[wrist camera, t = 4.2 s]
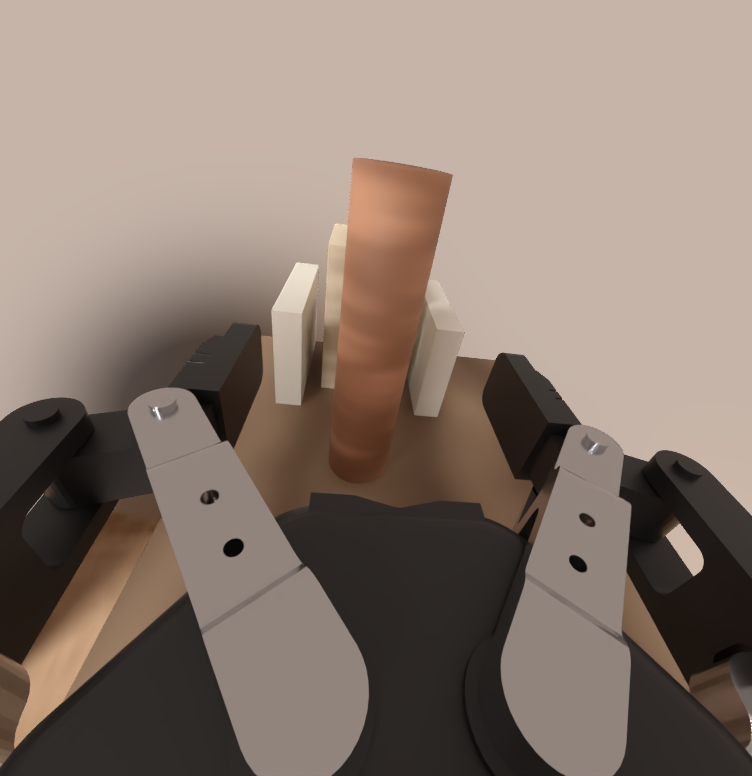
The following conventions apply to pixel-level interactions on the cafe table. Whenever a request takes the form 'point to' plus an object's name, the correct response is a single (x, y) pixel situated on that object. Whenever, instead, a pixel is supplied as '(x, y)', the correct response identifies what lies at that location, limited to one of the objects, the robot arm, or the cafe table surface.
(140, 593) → the open wooden cabinet
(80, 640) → the cafe table surface
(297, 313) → the upright cream panels
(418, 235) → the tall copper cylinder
